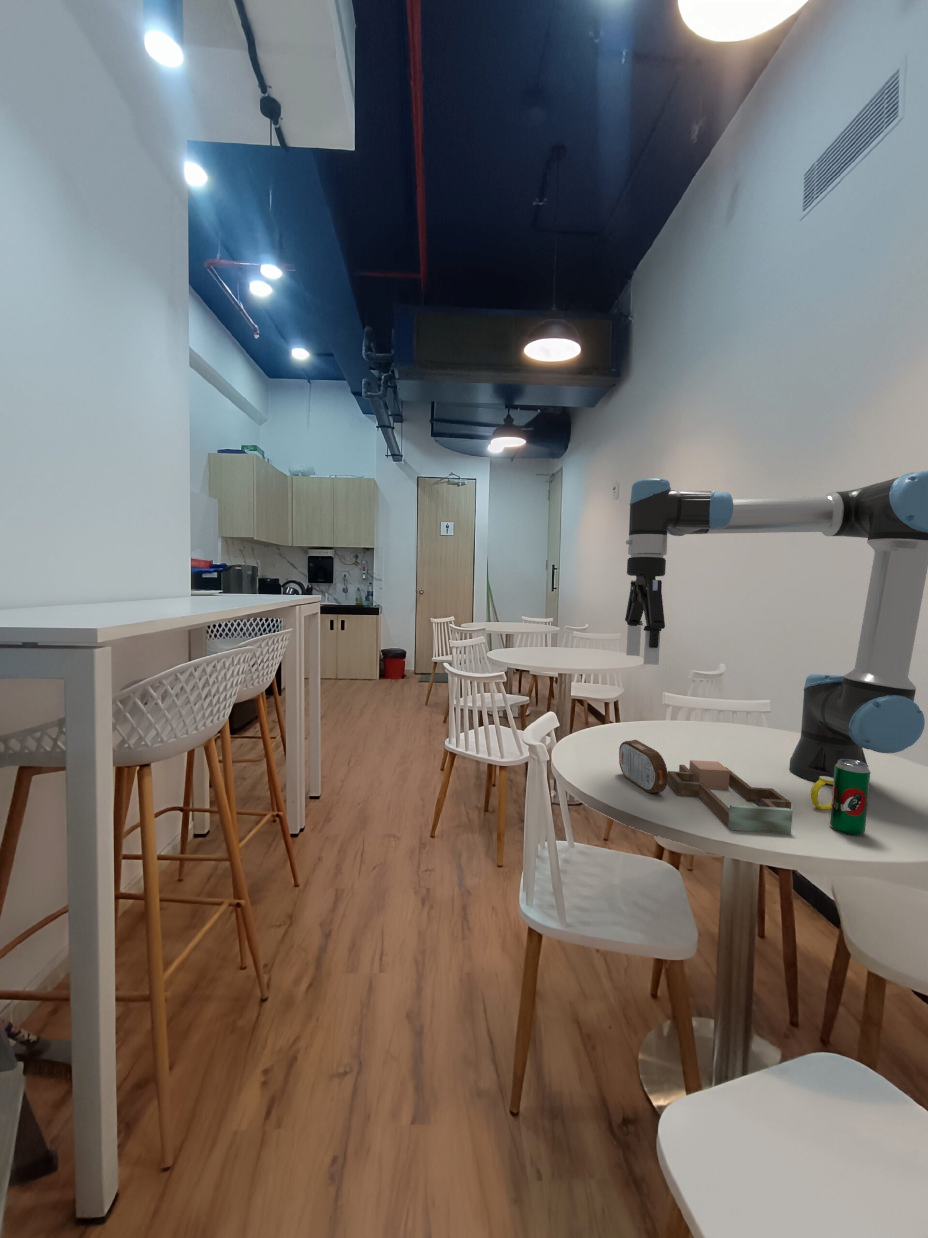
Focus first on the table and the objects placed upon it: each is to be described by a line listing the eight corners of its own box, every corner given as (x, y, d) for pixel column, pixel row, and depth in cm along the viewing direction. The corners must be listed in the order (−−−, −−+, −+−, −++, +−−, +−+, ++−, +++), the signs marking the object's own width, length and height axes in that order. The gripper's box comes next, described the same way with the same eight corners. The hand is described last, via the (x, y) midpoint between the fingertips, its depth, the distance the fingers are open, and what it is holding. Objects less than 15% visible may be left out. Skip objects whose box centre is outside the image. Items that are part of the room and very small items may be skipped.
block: (716, 779, 121) (718, 761, 120) (728, 789, 115) (729, 770, 114) (688, 778, 121) (689, 760, 121) (698, 788, 115) (700, 769, 115)
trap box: (744, 779, 121) (745, 761, 121) (815, 835, 94) (817, 812, 94) (660, 774, 122) (661, 756, 122) (706, 828, 95) (707, 805, 95)
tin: (668, 799, 108) (670, 756, 107) (653, 799, 107) (656, 756, 107) (628, 772, 123) (630, 735, 122) (615, 773, 122) (617, 735, 121)
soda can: (872, 835, 95) (878, 766, 94) (849, 838, 93) (855, 768, 93) (844, 823, 100) (850, 757, 99) (822, 825, 98) (828, 758, 97)
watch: (830, 806, 108) (834, 776, 108) (843, 811, 106) (847, 781, 105) (805, 805, 107) (809, 775, 107) (817, 811, 104) (822, 780, 104)
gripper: (614, 559, 127) (610, 651, 128) (645, 552, 102) (639, 667, 103) (647, 560, 126) (643, 652, 128) (686, 553, 101) (680, 669, 103)
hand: (641, 659), depth 115 cm, fingers open, 13 cm apart
